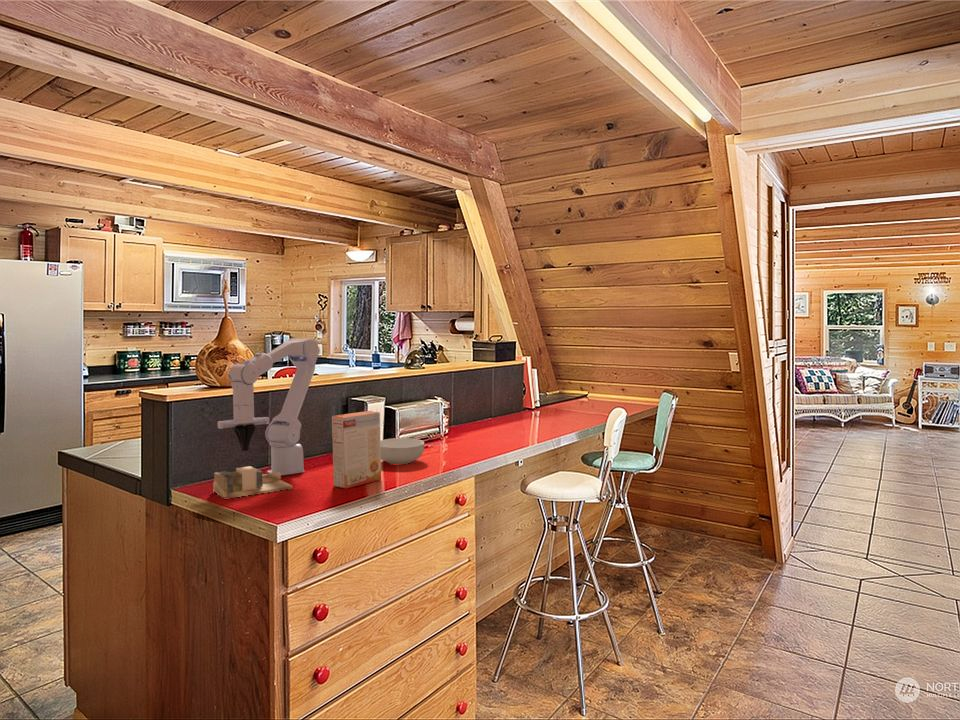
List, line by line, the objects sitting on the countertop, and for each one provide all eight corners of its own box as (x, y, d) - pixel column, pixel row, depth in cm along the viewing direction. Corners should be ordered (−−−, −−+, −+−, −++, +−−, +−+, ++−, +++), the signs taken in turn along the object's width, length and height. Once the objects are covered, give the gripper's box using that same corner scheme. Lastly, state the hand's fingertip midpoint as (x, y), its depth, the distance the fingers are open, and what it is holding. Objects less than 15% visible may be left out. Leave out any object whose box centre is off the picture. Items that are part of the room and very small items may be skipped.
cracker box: (368, 477, 197) (368, 410, 196) (382, 480, 193) (381, 411, 192) (331, 486, 186) (330, 415, 185) (345, 489, 182) (344, 416, 181)
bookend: (255, 483, 185) (255, 468, 185) (262, 486, 181) (262, 471, 181) (250, 483, 184) (250, 468, 184) (257, 487, 180) (256, 472, 180)
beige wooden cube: (250, 484, 184) (250, 466, 184) (256, 488, 180) (256, 469, 180) (236, 487, 182) (236, 468, 182) (242, 490, 178) (242, 471, 178)
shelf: (279, 482, 191) (279, 462, 191) (292, 488, 183) (292, 468, 183) (213, 492, 179) (213, 472, 179) (224, 499, 171) (224, 478, 171)
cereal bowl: (364, 464, 215) (364, 444, 214) (393, 456, 229) (393, 436, 229) (406, 470, 207) (406, 448, 206) (433, 460, 222) (433, 440, 221)
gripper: (263, 401, 196) (264, 445, 197) (214, 405, 187) (215, 451, 188) (271, 403, 190) (272, 448, 191) (221, 407, 181) (222, 455, 182)
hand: (244, 450), depth 189 cm, fingers closed
